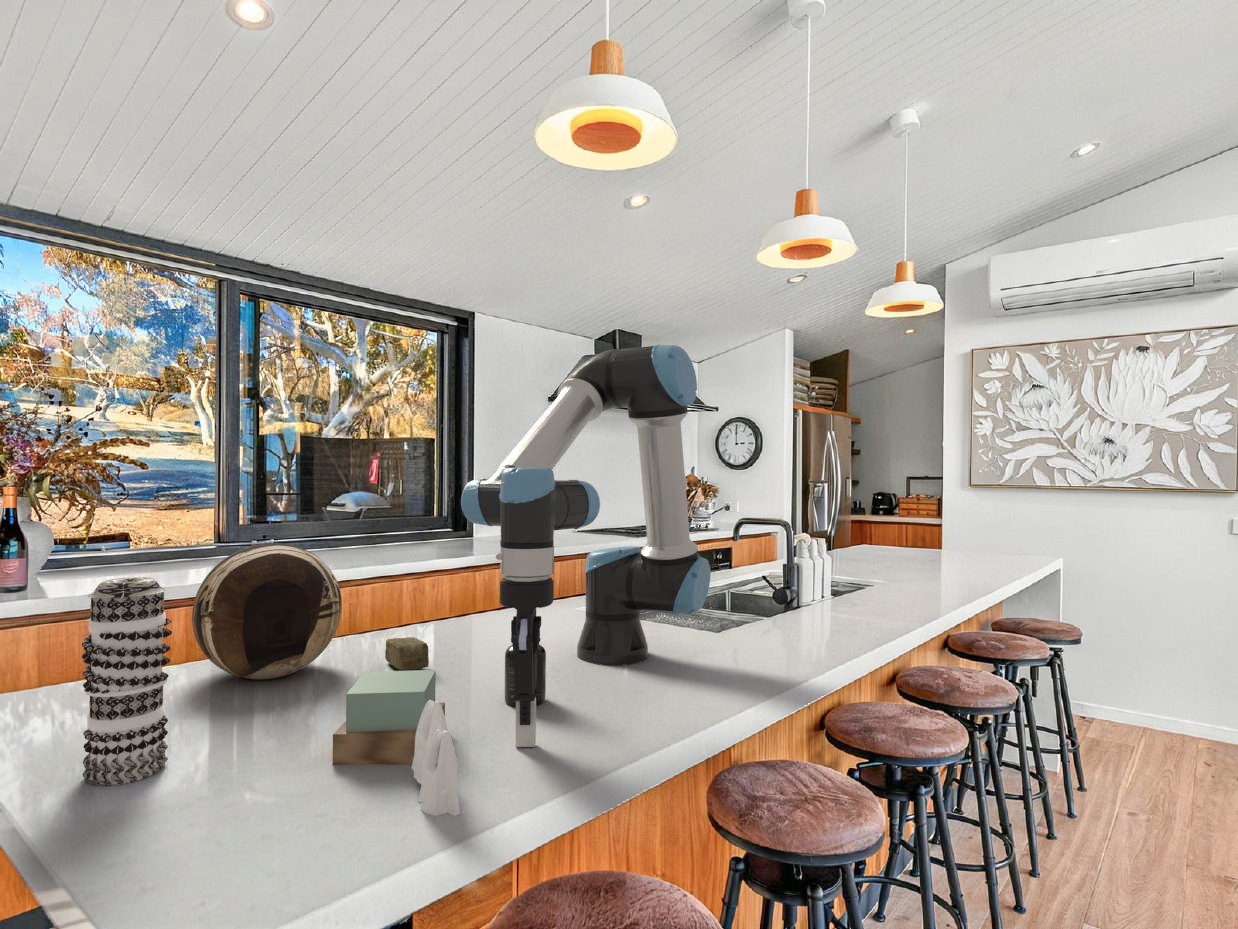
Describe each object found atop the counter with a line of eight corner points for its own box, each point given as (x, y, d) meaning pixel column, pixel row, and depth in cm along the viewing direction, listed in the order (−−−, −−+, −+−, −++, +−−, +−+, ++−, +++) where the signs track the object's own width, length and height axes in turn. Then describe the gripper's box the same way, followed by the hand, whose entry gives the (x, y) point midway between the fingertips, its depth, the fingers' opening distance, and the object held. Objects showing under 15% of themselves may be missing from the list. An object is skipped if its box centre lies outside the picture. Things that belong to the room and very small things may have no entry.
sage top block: (435, 704, 102) (435, 670, 102) (423, 729, 92) (424, 691, 92) (365, 706, 101) (365, 671, 101) (345, 732, 91) (346, 694, 91)
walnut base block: (444, 736, 102) (445, 702, 102) (425, 771, 90) (426, 733, 90) (362, 737, 102) (362, 703, 102) (332, 772, 90) (332, 734, 90)
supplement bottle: (518, 693, 121) (518, 624, 121) (552, 698, 118) (553, 628, 118) (496, 705, 115) (497, 632, 115) (532, 711, 112) (533, 636, 112)
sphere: (191, 708, 113) (193, 554, 113) (190, 670, 134) (192, 540, 134) (353, 683, 126) (354, 546, 126) (329, 652, 147) (330, 534, 147)
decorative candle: (187, 768, 90) (189, 575, 90) (122, 801, 81) (124, 587, 81) (130, 761, 92) (132, 573, 92) (60, 792, 83) (62, 584, 83)
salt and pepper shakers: (410, 781, 87) (411, 692, 87) (444, 775, 88) (445, 688, 88) (423, 827, 76) (424, 725, 76) (462, 819, 77) (462, 720, 77)
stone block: (400, 673, 129) (399, 646, 129) (383, 663, 138) (383, 638, 139) (431, 668, 132) (430, 642, 132) (412, 659, 142) (412, 634, 142)
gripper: (505, 570, 104) (504, 727, 103) (493, 584, 91) (492, 765, 90) (555, 570, 104) (554, 727, 104) (551, 584, 91) (549, 764, 91)
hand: (525, 744), depth 97 cm, fingers closed
